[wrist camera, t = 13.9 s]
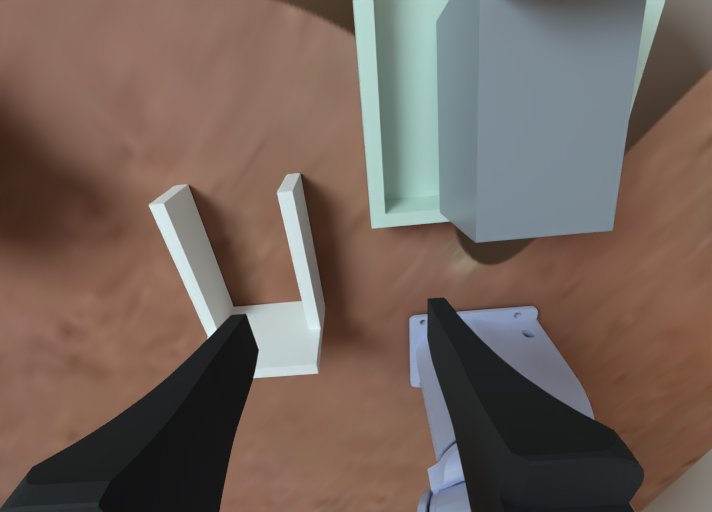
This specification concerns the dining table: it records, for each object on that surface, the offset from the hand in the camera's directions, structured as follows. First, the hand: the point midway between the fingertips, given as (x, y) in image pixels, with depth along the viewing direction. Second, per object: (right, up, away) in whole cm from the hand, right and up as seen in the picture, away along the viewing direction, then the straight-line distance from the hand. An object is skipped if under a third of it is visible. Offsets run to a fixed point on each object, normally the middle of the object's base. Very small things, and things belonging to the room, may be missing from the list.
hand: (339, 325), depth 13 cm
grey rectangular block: (+7, +10, +3) cm, 13 cm away
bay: (-6, +3, +9) cm, 11 cm away
